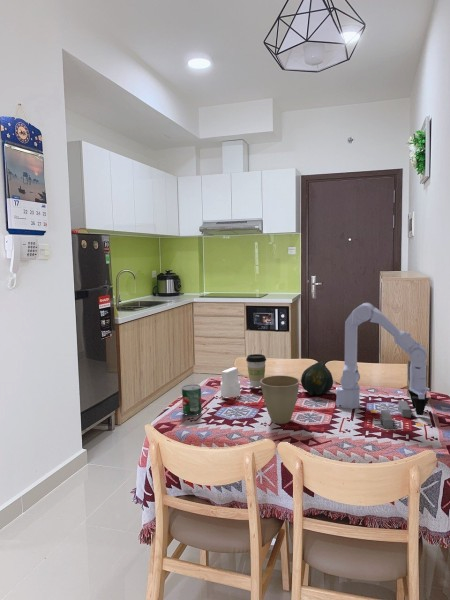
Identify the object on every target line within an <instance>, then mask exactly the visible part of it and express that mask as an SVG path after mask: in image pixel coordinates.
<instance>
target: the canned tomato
mask: <svg viewBox="0 0 450 600" xmlns="http://www.w3.org/2000/svg"><path fill="white" fill-rule="evenodd" d="M181 397H182V398H181V399H182V402H181V403H182V414H183V413H184V414H187V415H197V414H200V413H201V412H203V411H202V409H203V408H202V386H201V385H198V384H186V385H183V386H182V387H181ZM184 414H183V415H184ZM201 414H202V413H201ZM201 414H200V415H201ZM197 416H198V415H197Z"/></svg>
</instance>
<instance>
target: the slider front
mask: <svg viewBox="0 0 450 600" xmlns="http://www.w3.org/2000/svg"><path fill="white" fill-rule="evenodd" d="M380 421H381V424H382V427H383V428H384V429H394V427H393V425H394V420H393V417H392V414H391V412H390V410H388V409H387V410H385V409H384V410H383V409H381V410H380Z"/></svg>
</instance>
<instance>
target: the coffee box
mask: <svg viewBox="0 0 450 600" xmlns="http://www.w3.org/2000/svg"><path fill="white" fill-rule="evenodd" d="M406 363H407V364H406V366H407V368H406V369H407V370H406V375H407V376H406V380H407V381H406V385H407V386H406V391H407V392H406V396H407V397H408V398H409V400H410V401H412V400H411V396H410V393H409V391H408V389H410V365H411V360H409V361H408V360H407V362H406ZM427 379H428V365H426V388H428V387H427V384H428V382H427V381H428V380H427ZM427 392H428V391H426V393H425V398H427Z"/></svg>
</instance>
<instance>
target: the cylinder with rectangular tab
mask: <svg viewBox="0 0 450 600" xmlns="http://www.w3.org/2000/svg"><path fill="white" fill-rule="evenodd" d="M221 395H222V396H224V397H236V398H238V397H237V396H239V395H240V396H241V381H240V380H239V371H238V367H234V366H233V367H230V368H227V369H225V370H223V371H221V381H220V396H221ZM222 396H221V397H222ZM240 396H239V397H240ZM224 397H223V398H224Z"/></svg>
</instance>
